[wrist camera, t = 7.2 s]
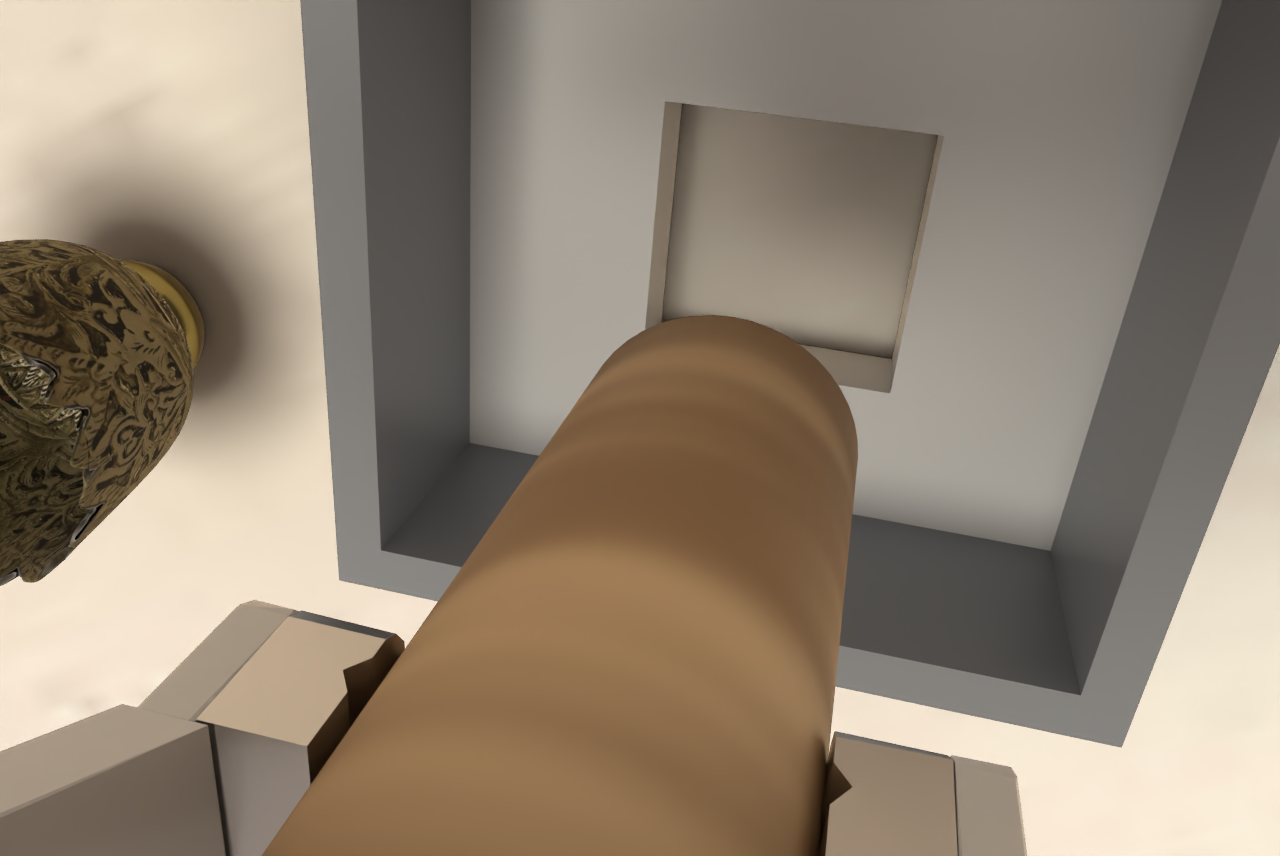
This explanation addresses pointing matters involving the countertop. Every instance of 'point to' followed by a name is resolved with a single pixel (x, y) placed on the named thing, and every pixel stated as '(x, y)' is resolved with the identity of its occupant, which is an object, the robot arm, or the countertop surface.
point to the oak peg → (627, 630)
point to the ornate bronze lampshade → (83, 391)
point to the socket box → (873, 386)
